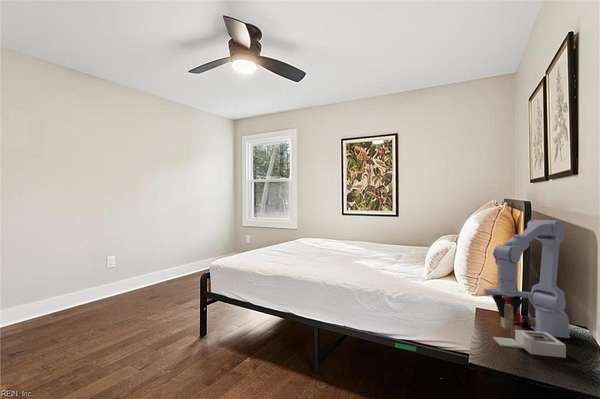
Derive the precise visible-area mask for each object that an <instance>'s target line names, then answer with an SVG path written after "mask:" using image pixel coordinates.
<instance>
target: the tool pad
mask: <svg viewBox="0 0 600 399" xmlns="http://www.w3.org/2000/svg"><path fill="white" fill-rule="evenodd" d="M493 340H494V341H495V342H496V343H497V344H498V345H499V346H500V347H503V348H514V349H523V347H522V346H521V345H520V344H519V343H517V342H516V341H515V339H514V338H509V337H501V336H500V337H499V336H493Z"/></svg>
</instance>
